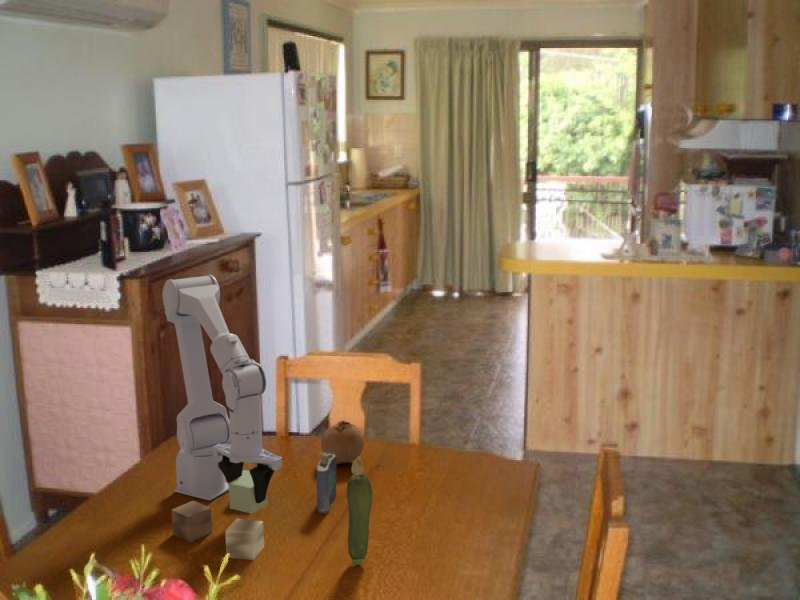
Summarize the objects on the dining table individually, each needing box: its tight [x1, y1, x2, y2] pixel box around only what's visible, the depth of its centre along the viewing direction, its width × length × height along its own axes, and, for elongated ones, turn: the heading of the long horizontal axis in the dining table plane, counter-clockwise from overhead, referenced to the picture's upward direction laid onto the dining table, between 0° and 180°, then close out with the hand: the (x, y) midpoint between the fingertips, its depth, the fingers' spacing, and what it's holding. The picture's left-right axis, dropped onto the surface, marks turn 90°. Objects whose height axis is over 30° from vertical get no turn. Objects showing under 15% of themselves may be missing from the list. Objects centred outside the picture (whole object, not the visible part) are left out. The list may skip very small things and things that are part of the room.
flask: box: [316, 451, 337, 515], centre depth 175 cm, size 9×3×11 cm, turn 172°
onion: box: [320, 420, 365, 465], centre depth 195 cm, size 10×9×10 cm
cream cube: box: [224, 518, 265, 561], centre depth 156 cm, size 5×5×5 cm
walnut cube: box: [170, 500, 213, 544], centre depth 163 cm, size 5×5×5 cm
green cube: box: [228, 473, 269, 515], centre depth 166 cm, size 5×5×5 cm
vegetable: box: [346, 455, 373, 567], centre depth 151 cm, size 4×4×20 cm
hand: (248, 498), depth 166 cm, fingers closed on green cube, 5 cm apart
